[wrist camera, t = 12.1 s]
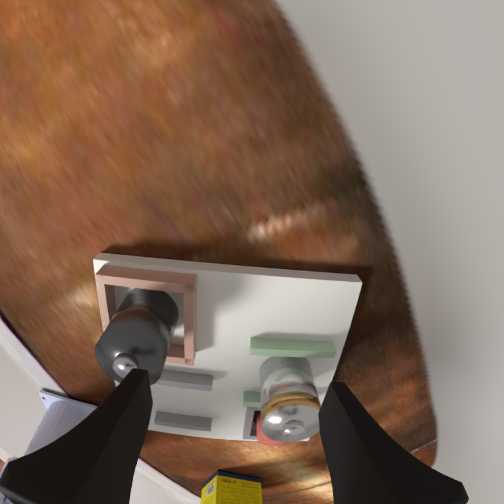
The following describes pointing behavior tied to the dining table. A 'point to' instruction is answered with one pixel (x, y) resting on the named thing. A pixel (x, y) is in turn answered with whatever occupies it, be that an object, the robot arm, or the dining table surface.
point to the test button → (260, 434)
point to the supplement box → (231, 489)
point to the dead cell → (138, 335)
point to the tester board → (231, 334)
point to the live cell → (288, 399)
